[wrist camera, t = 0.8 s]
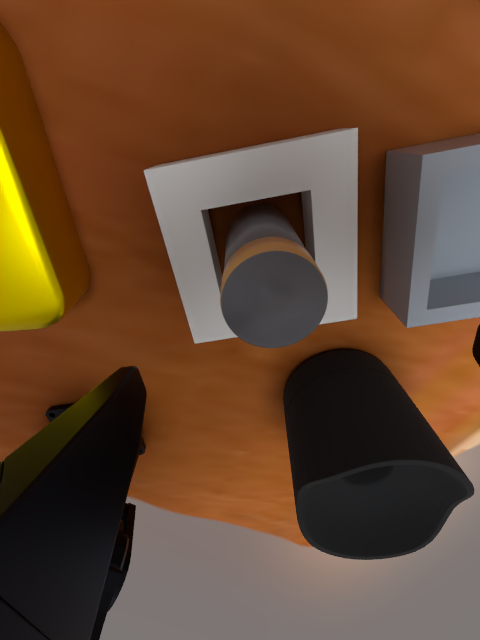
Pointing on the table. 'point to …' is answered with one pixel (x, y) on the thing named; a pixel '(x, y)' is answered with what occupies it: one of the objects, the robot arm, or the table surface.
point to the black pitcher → (365, 460)
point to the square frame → (253, 184)
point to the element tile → (32, 212)
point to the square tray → (432, 232)
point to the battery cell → (270, 280)
